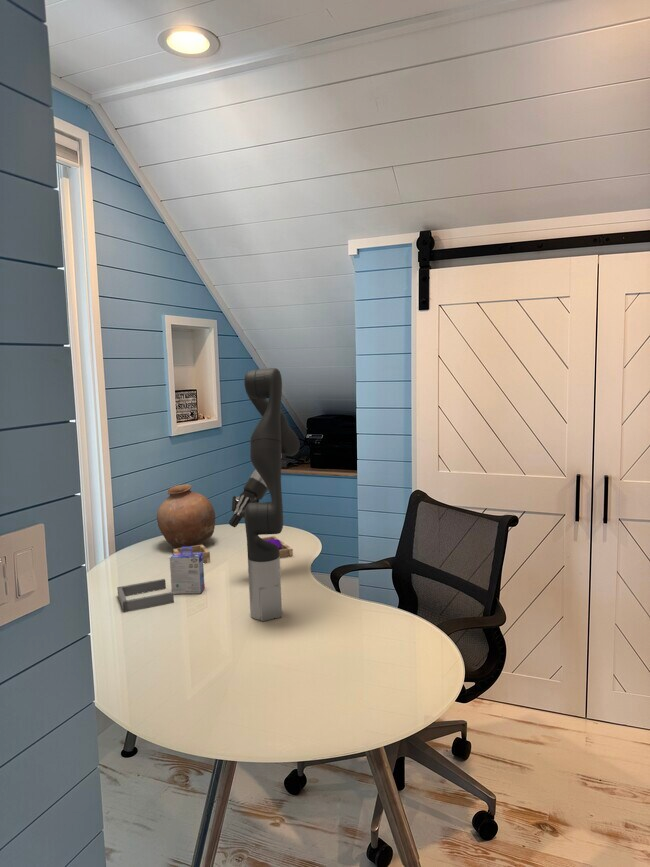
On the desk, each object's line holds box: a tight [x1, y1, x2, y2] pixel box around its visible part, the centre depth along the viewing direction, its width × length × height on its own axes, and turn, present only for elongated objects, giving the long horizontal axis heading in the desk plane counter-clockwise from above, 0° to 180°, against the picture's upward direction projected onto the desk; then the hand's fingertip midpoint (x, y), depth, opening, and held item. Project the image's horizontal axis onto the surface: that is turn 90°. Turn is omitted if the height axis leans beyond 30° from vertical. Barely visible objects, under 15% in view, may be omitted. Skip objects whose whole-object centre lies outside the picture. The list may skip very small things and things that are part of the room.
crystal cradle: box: [261, 535, 294, 559], centre depth 234 cm, size 20×10×3 cm, turn 26°
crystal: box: [265, 538, 281, 550], centre depth 235 cm, size 5×5×15 cm
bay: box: [117, 578, 175, 613], centre depth 190 cm, size 14×15×3 cm
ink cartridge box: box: [169, 546, 206, 595], centre depth 195 cm, size 10×6×14 cm, turn 89°
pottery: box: [156, 484, 216, 548], centre depth 244 cm, size 23×23×25 cm
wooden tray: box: [172, 544, 211, 564], centre depth 226 cm, size 11×11×4 cm
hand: (231, 525), depth 200 cm, fingers closed
